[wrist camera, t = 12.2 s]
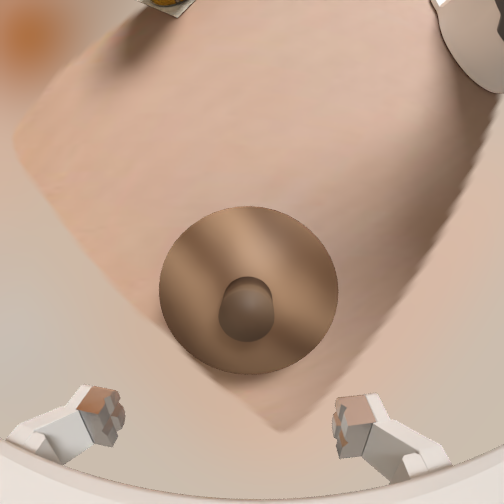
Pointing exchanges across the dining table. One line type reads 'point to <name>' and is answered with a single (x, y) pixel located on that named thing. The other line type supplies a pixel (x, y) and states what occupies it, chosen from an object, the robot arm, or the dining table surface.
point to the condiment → (169, 5)
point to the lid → (248, 290)
